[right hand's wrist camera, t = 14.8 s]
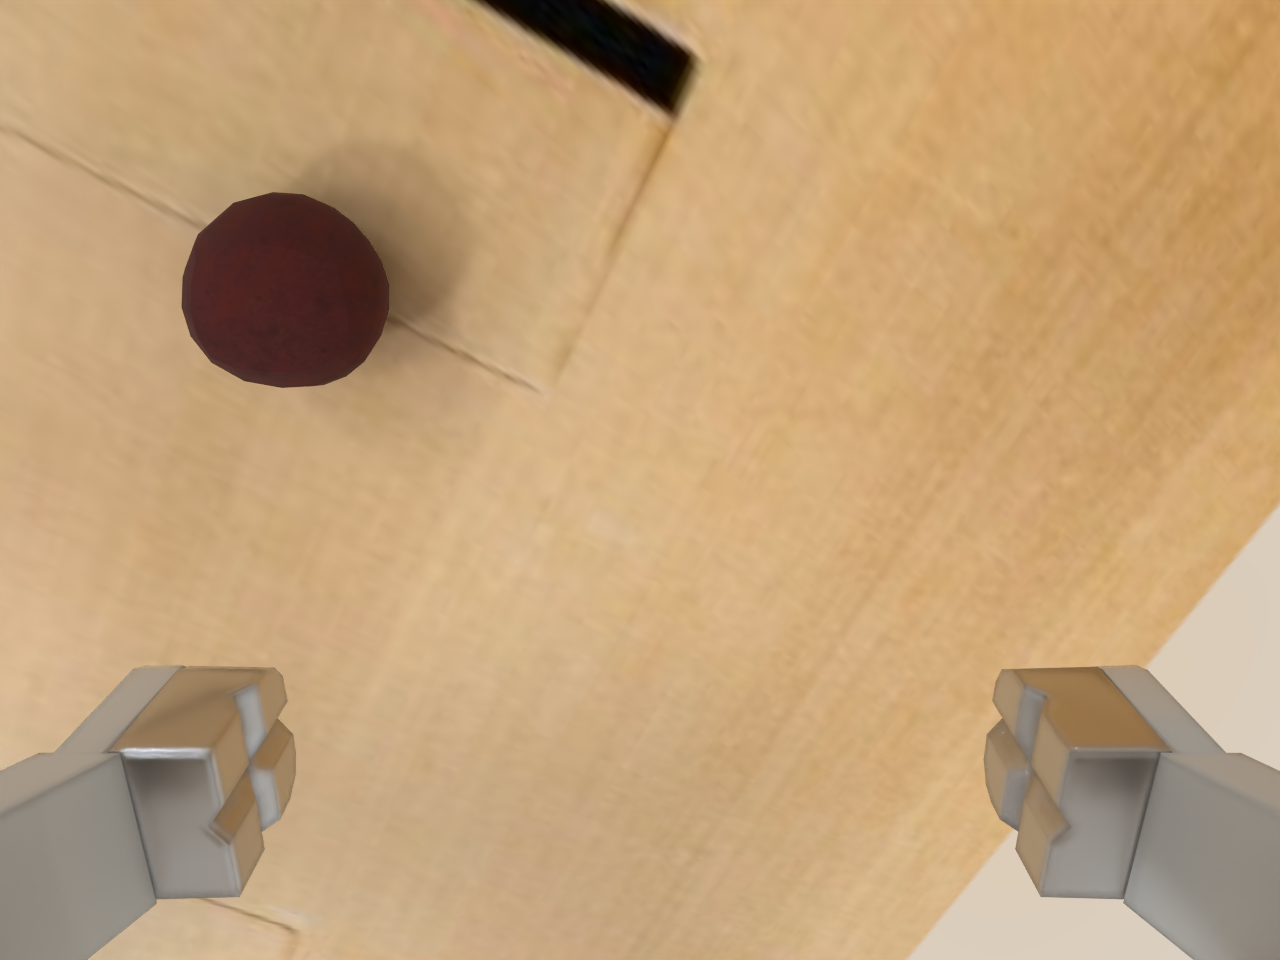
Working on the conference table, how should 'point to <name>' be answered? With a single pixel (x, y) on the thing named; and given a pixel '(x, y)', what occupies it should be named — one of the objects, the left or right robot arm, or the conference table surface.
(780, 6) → the conference table surface
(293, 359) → the dark red ball
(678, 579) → the conference table surface
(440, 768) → the conference table surface
